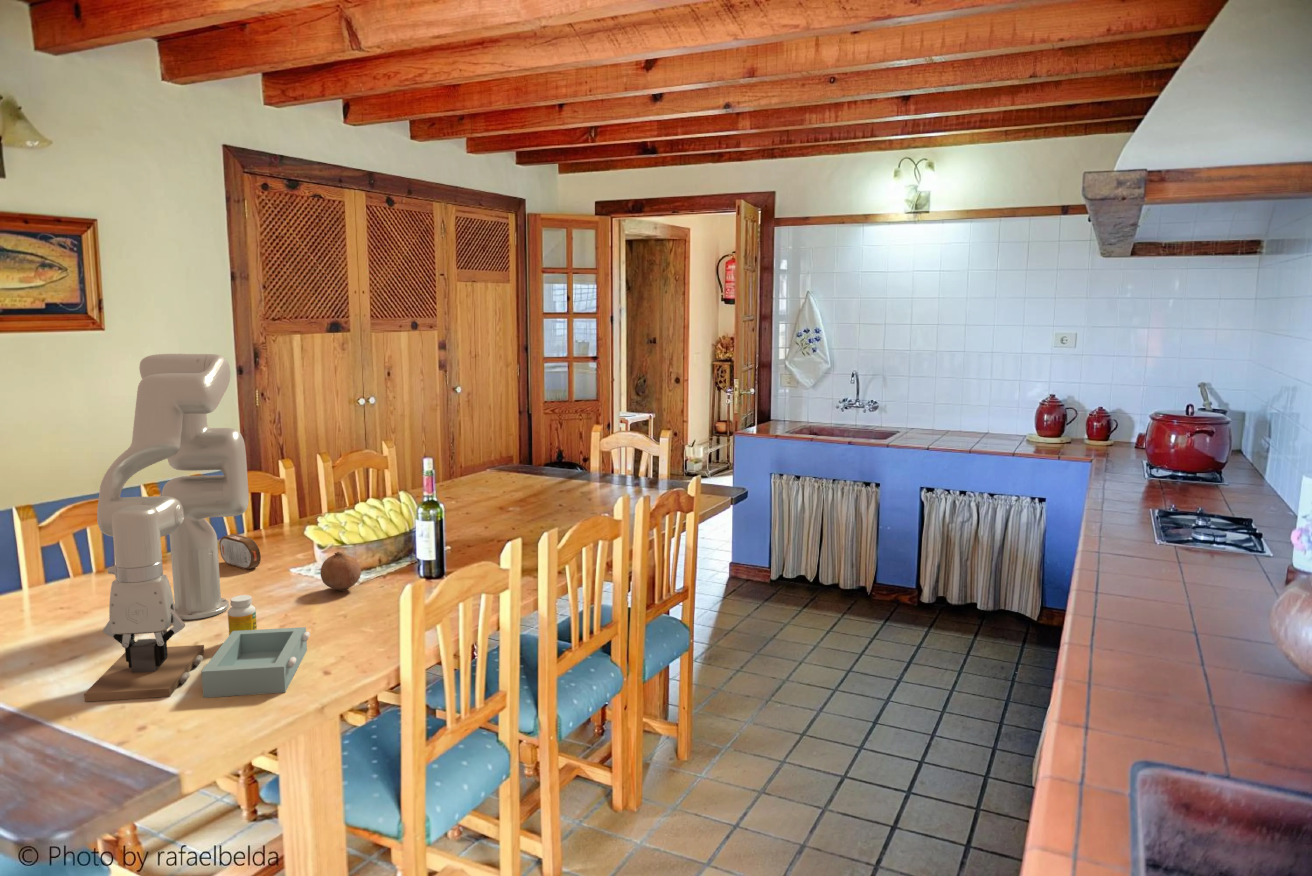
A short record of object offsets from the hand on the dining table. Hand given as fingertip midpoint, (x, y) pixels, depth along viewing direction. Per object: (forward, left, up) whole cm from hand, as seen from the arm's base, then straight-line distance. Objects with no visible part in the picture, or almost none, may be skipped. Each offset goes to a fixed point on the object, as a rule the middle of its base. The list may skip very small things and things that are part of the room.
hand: (147, 663), depth 167 cm
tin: (-72, -2, -3) cm, 72 cm away
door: (0, 0, -2) cm, 2 cm away
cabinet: (+1, +20, -3) cm, 20 cm away
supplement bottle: (-16, +13, -3) cm, 21 cm away
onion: (-47, +28, -3) cm, 54 cm away
